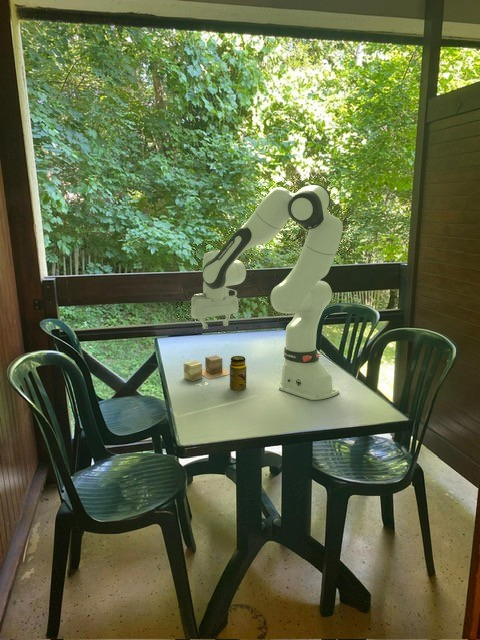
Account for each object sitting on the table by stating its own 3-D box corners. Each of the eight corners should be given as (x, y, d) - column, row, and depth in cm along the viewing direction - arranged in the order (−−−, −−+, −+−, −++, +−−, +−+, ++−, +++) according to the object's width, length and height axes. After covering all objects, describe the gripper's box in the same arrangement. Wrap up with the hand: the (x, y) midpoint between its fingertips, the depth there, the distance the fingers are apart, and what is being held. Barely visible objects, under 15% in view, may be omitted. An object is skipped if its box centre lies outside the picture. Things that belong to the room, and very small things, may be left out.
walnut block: (222, 372, 174) (222, 358, 173) (211, 374, 171) (211, 360, 170) (216, 369, 178) (215, 355, 177) (205, 371, 176) (205, 357, 174)
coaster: (232, 374, 173) (232, 373, 173) (209, 380, 167) (208, 378, 167) (218, 367, 182) (218, 366, 182) (195, 372, 176) (195, 371, 176)
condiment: (249, 391, 156) (249, 359, 153) (226, 393, 154) (225, 361, 151) (244, 384, 163) (244, 353, 160) (222, 386, 161) (222, 355, 158)
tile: (216, 386, 161) (216, 385, 161) (199, 389, 157) (199, 388, 157) (206, 380, 167) (206, 379, 167) (190, 384, 163) (190, 383, 163)
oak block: (202, 378, 168) (201, 363, 167) (192, 381, 165) (191, 366, 164) (194, 375, 172) (193, 360, 171) (184, 378, 168) (183, 363, 167)
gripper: (195, 295, 161) (196, 331, 164) (240, 290, 172) (241, 324, 175) (187, 293, 166) (188, 329, 169) (231, 289, 177) (232, 322, 180)
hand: (215, 326), depth 172 cm, fingers open, 8 cm apart
